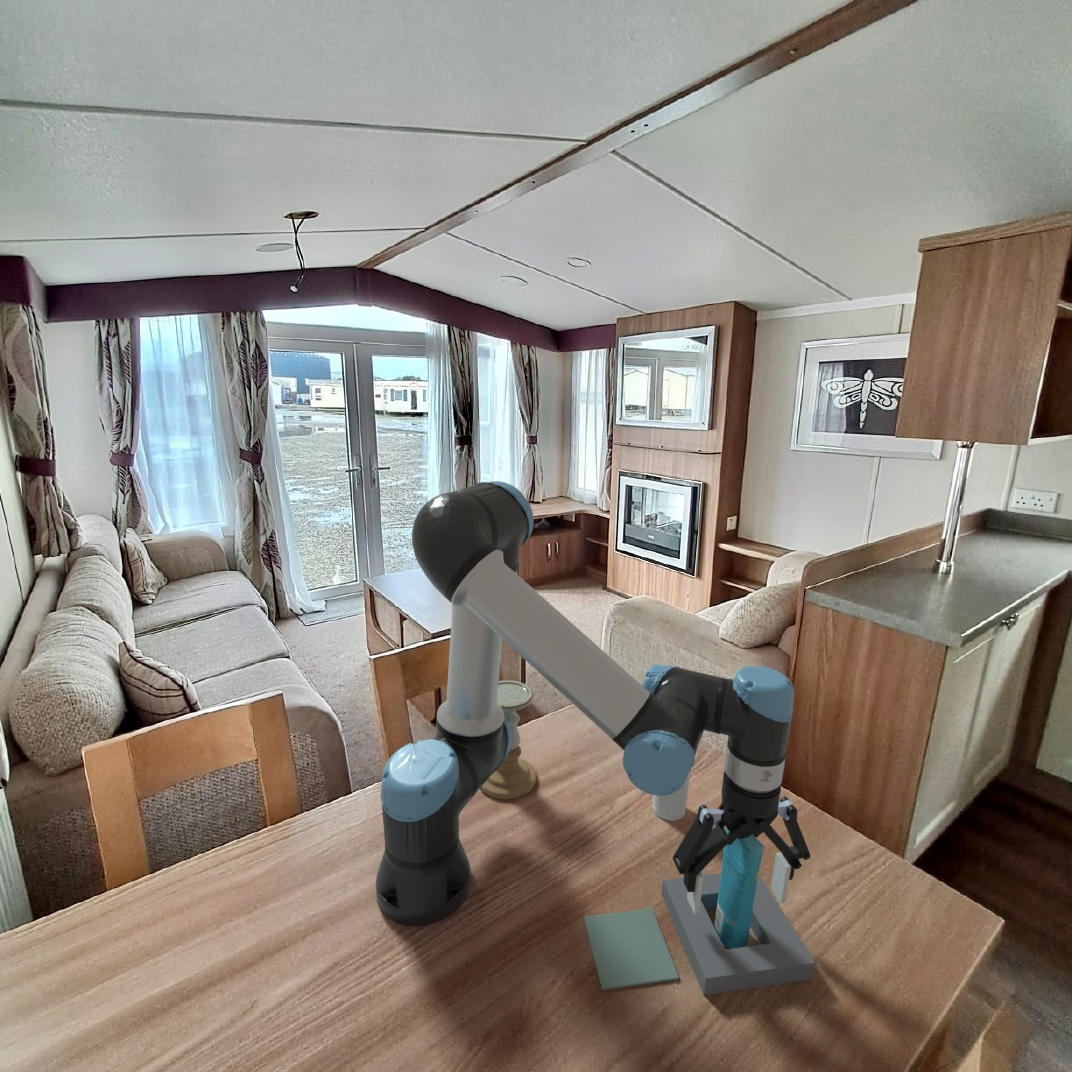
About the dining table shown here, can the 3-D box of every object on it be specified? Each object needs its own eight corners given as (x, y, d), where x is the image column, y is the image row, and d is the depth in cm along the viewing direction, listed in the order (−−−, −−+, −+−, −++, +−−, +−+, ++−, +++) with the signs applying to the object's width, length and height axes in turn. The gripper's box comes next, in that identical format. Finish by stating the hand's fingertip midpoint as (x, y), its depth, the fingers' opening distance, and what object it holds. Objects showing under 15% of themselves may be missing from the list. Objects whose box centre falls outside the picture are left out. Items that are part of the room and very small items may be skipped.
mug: (693, 817, 110) (699, 763, 107) (663, 826, 108) (668, 770, 105) (664, 784, 119) (669, 733, 116) (636, 791, 117) (640, 739, 114)
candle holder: (536, 801, 114) (538, 710, 109) (473, 799, 114) (472, 708, 109) (536, 761, 126) (538, 678, 120) (480, 760, 126) (479, 676, 121)
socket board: (703, 995, 78) (705, 978, 77) (661, 894, 93) (662, 879, 93) (811, 979, 81) (815, 962, 80) (753, 884, 96) (755, 869, 95)
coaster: (602, 990, 79) (602, 988, 78) (583, 918, 89) (583, 916, 89) (678, 979, 80) (679, 977, 80) (651, 910, 91) (652, 908, 91)
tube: (761, 949, 85) (777, 840, 80) (736, 962, 83) (752, 852, 78) (724, 908, 91) (738, 806, 86) (701, 920, 89) (713, 815, 84)
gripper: (677, 803, 74) (665, 934, 80) (851, 787, 78) (828, 912, 84) (657, 766, 82) (647, 888, 87) (817, 753, 85) (798, 870, 91)
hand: (735, 900), depth 85 cm, fingers open, 13 cm apart
